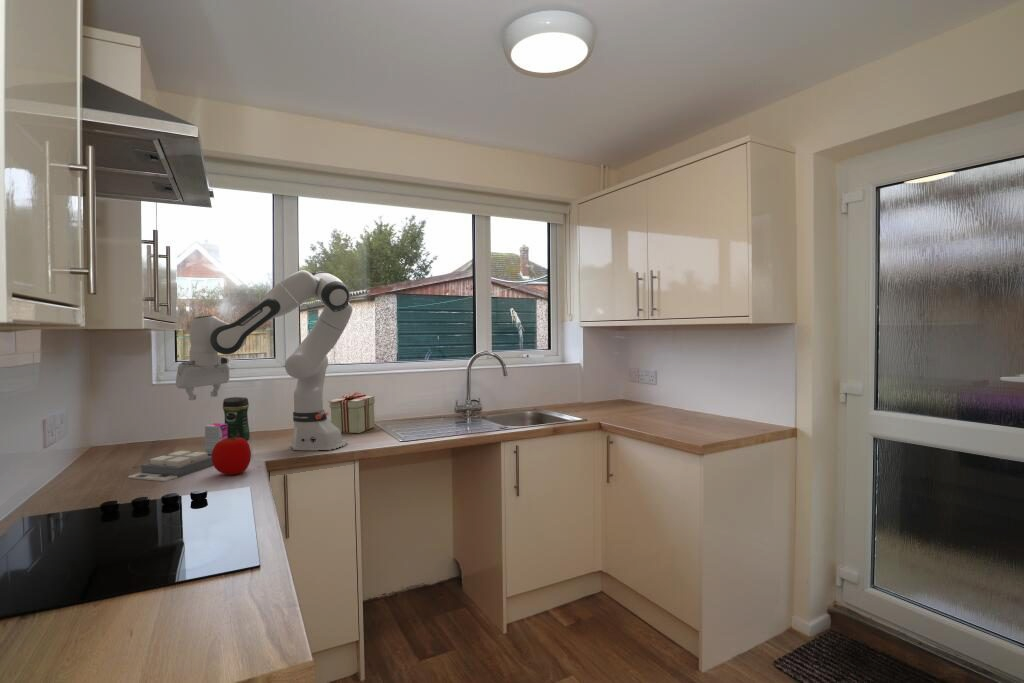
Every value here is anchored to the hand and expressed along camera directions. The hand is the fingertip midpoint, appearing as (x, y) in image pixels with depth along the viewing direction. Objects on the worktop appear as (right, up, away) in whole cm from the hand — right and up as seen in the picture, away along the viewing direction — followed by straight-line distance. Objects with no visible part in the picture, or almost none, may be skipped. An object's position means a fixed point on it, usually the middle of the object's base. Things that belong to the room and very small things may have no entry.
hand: (203, 398), depth 189 cm
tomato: (+18, -24, -14) cm, 33 cm away
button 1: (-8, -22, -11) cm, 25 cm away
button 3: (-6, -21, -4) cm, 22 cm away
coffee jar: (-6, -22, +35) cm, 42 cm away
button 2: (-1, -22, -13) cm, 25 cm away
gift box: (+36, -21, +55) cm, 69 cm away
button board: (-4, -24, -10) cm, 26 cm away
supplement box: (-2, -23, +12) cm, 26 cm away
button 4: (+1, -21, -6) cm, 22 cm away
